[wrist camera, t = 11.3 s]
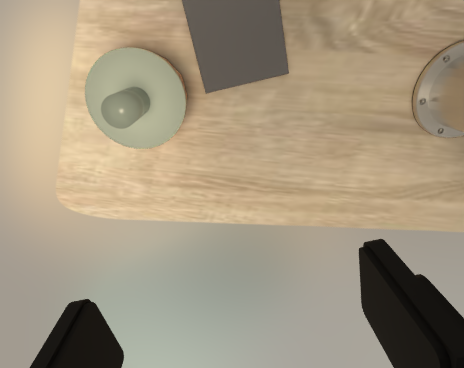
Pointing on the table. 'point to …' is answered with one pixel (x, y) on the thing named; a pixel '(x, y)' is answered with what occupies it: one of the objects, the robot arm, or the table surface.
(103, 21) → the table surface
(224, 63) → the mat
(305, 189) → the table surface
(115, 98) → the lid
